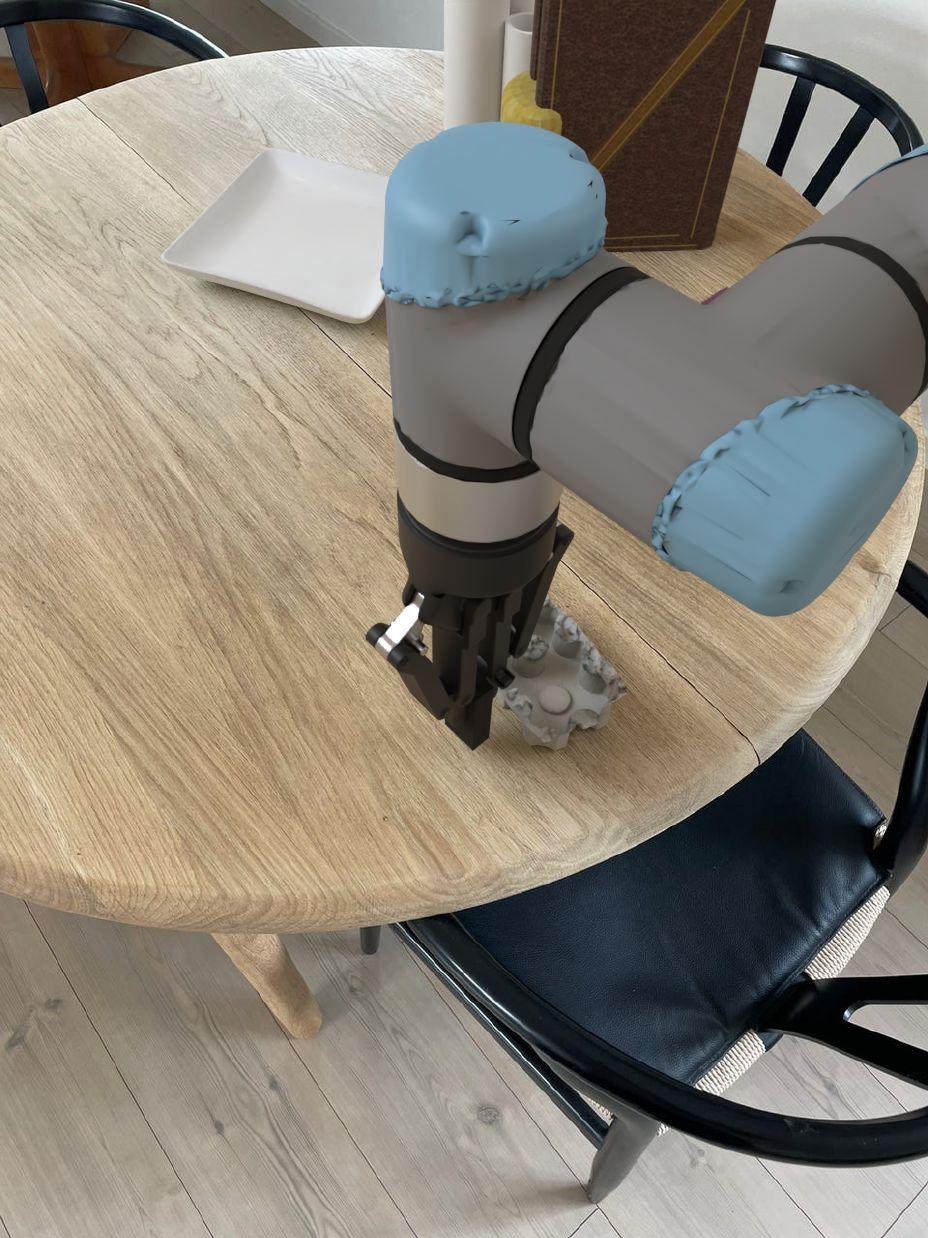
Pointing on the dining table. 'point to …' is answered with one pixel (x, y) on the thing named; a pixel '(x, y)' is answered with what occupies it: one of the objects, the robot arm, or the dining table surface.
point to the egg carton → (560, 682)
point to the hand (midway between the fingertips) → (467, 730)
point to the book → (647, 105)
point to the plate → (293, 235)
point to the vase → (483, 56)
